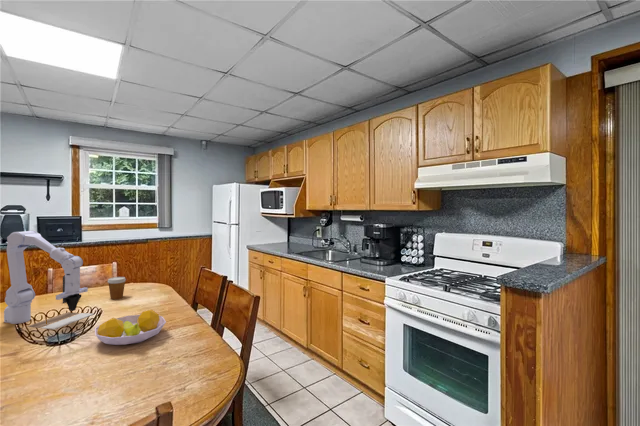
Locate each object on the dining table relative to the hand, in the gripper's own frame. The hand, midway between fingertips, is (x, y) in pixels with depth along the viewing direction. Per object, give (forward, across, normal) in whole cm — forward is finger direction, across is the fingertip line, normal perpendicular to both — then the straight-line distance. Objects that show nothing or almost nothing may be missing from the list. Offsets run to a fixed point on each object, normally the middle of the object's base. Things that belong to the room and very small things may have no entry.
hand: (72, 310), depth 151 cm
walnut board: (+6, 0, +10) cm, 12 cm away
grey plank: (+6, 0, +2) cm, 6 cm away
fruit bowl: (+7, -9, -40) cm, 41 cm away
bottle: (+7, +27, +32) cm, 42 cm away
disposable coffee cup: (+7, +40, +12) cm, 42 cm away
